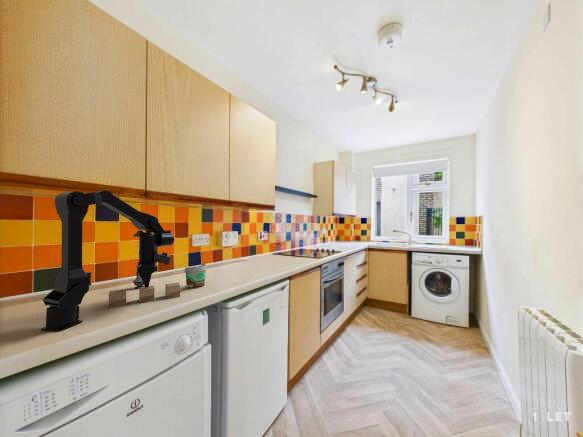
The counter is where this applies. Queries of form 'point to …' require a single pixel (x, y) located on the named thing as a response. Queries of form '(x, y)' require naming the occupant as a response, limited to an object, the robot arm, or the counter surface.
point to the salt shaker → (138, 281)
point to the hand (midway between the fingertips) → (146, 287)
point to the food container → (195, 276)
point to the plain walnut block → (146, 294)
